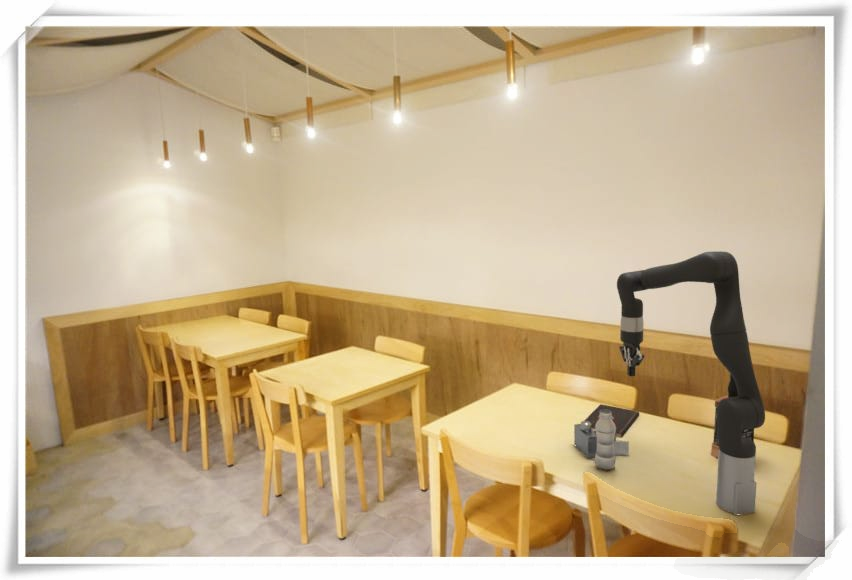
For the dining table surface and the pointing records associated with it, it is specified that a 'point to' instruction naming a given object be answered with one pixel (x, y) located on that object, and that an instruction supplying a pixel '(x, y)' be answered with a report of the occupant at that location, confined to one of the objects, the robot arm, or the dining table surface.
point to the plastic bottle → (605, 441)
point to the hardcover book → (620, 415)
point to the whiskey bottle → (715, 445)
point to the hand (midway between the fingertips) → (631, 375)
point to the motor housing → (594, 441)
